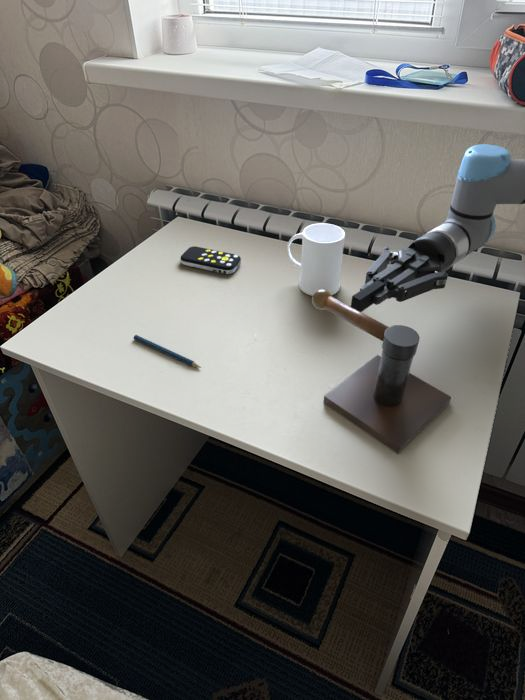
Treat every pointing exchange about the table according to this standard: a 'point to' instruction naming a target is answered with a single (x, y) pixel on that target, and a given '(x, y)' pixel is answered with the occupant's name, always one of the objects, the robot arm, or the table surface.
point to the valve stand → (387, 401)
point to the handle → (372, 326)
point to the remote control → (210, 260)
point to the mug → (320, 257)
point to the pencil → (166, 351)
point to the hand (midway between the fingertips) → (355, 305)
